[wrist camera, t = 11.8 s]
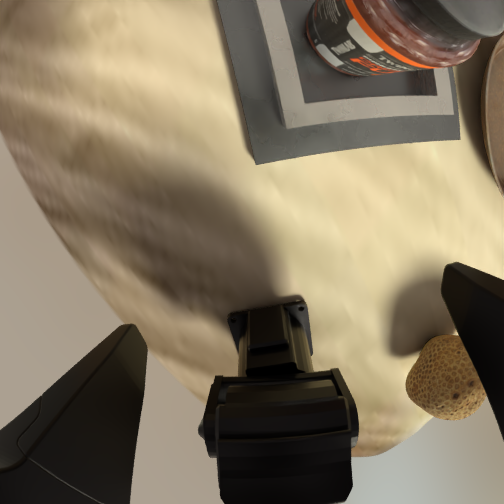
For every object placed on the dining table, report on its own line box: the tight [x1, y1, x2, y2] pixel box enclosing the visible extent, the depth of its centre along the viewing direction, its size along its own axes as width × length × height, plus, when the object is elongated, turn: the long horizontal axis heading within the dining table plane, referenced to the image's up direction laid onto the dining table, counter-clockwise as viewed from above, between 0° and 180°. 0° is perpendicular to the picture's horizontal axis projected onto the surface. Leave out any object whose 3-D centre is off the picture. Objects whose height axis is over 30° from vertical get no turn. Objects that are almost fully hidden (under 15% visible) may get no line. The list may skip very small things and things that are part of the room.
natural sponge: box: [406, 335, 486, 420], centre depth 23 cm, size 9×9×10 cm
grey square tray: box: [217, 0, 460, 165], centre depth 13 cm, size 15×15×3 cm
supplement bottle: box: [306, 0, 504, 77], centre depth 8 cm, size 6×6×11 cm
